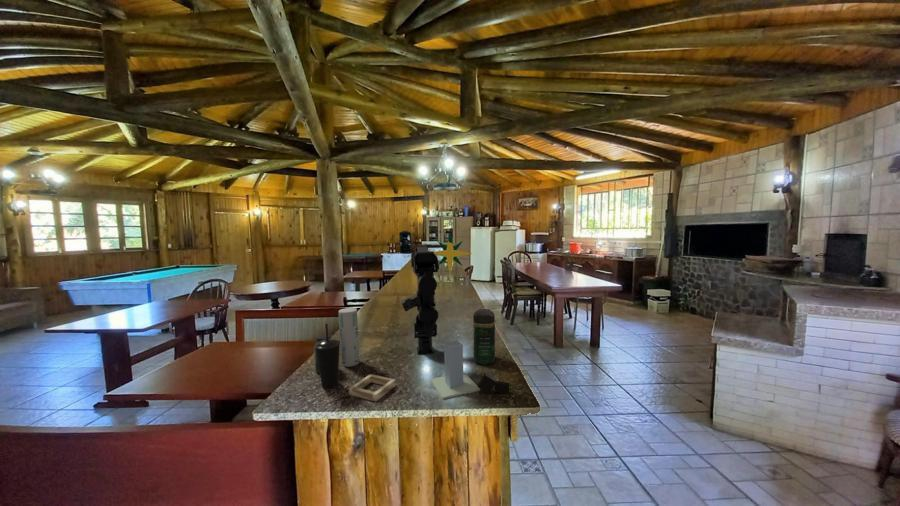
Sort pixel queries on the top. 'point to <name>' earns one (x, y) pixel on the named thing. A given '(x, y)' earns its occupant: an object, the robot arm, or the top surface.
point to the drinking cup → (328, 360)
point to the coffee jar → (484, 336)
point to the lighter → (493, 384)
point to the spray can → (349, 336)
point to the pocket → (374, 396)
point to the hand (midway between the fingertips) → (427, 332)
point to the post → (453, 363)
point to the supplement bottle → (315, 350)
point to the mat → (447, 392)
